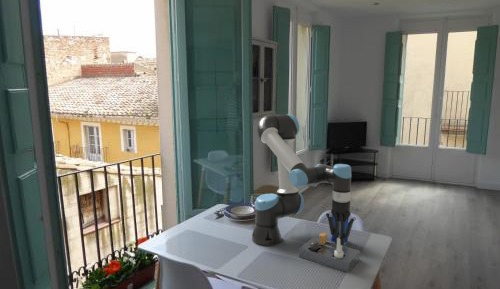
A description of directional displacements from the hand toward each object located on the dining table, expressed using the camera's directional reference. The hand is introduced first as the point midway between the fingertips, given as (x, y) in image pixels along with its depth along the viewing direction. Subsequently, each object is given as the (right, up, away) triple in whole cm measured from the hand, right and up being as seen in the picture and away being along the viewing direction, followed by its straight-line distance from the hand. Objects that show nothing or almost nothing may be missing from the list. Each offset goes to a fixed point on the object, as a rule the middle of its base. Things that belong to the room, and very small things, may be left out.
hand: (339, 251), depth 157 cm
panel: (-3, -6, +8) cm, 10 cm away
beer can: (+6, -3, +24) cm, 25 cm away
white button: (0, -4, +1) cm, 4 cm away
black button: (-10, -2, +8) cm, 13 cm away
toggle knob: (-5, 0, +13) cm, 13 cm away
